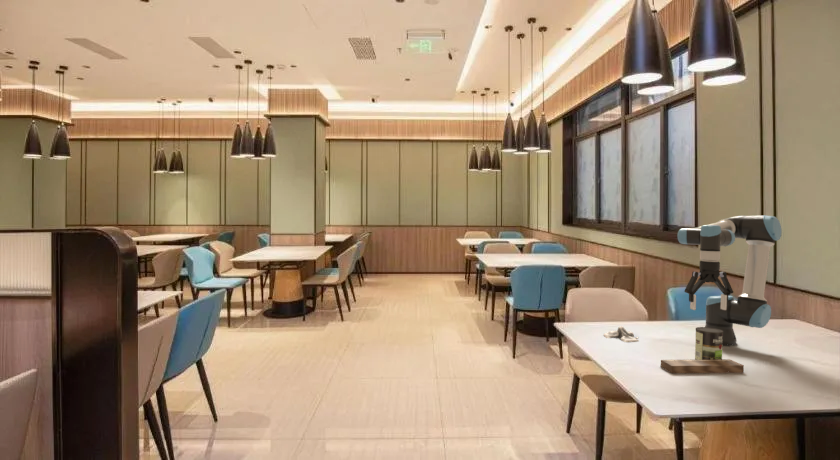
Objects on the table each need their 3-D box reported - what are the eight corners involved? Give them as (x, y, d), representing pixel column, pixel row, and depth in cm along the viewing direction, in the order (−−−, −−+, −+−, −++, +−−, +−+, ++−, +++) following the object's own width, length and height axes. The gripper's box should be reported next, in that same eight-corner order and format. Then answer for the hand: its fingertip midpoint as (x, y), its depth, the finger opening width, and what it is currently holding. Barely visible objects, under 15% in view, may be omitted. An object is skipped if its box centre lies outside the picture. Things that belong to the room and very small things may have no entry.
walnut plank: (729, 366, 203) (729, 359, 203) (743, 372, 195) (743, 365, 195) (660, 366, 201) (660, 359, 201) (671, 373, 193) (671, 365, 193)
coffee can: (727, 363, 207) (728, 331, 206) (712, 366, 202) (713, 333, 202) (703, 357, 216) (704, 325, 215) (689, 360, 211) (690, 328, 211)
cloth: (635, 345, 237) (636, 332, 236) (597, 338, 248) (598, 326, 248) (647, 336, 254) (648, 324, 254) (611, 330, 266) (612, 319, 265)
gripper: (731, 260, 212) (730, 307, 213) (676, 259, 211) (675, 307, 212) (743, 261, 205) (742, 311, 205) (686, 261, 204) (685, 311, 204)
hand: (708, 309), depth 209 cm, fingers open, 13 cm apart
